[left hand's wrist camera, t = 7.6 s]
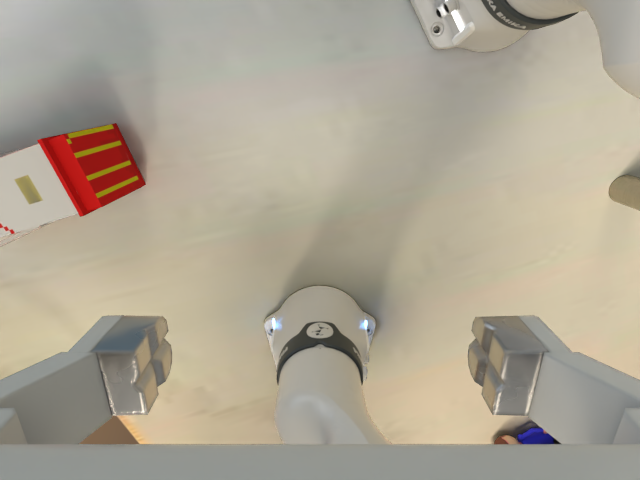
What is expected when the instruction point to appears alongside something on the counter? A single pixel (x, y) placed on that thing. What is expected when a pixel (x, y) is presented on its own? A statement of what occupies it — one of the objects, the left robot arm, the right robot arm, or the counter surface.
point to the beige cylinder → (626, 191)
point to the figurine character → (528, 438)
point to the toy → (64, 179)
